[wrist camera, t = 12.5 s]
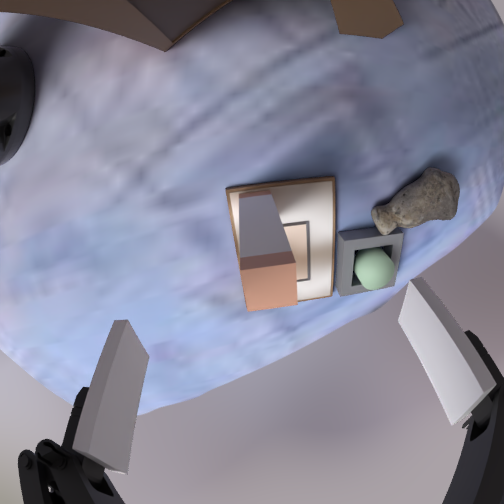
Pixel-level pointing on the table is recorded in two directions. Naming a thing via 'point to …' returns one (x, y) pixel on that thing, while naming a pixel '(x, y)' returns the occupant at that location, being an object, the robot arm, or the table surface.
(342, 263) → the button housing
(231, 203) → the cream rectangular board
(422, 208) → the stone
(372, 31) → the photo frame
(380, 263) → the button
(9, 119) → the robot arm
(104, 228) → the table surface
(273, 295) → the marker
